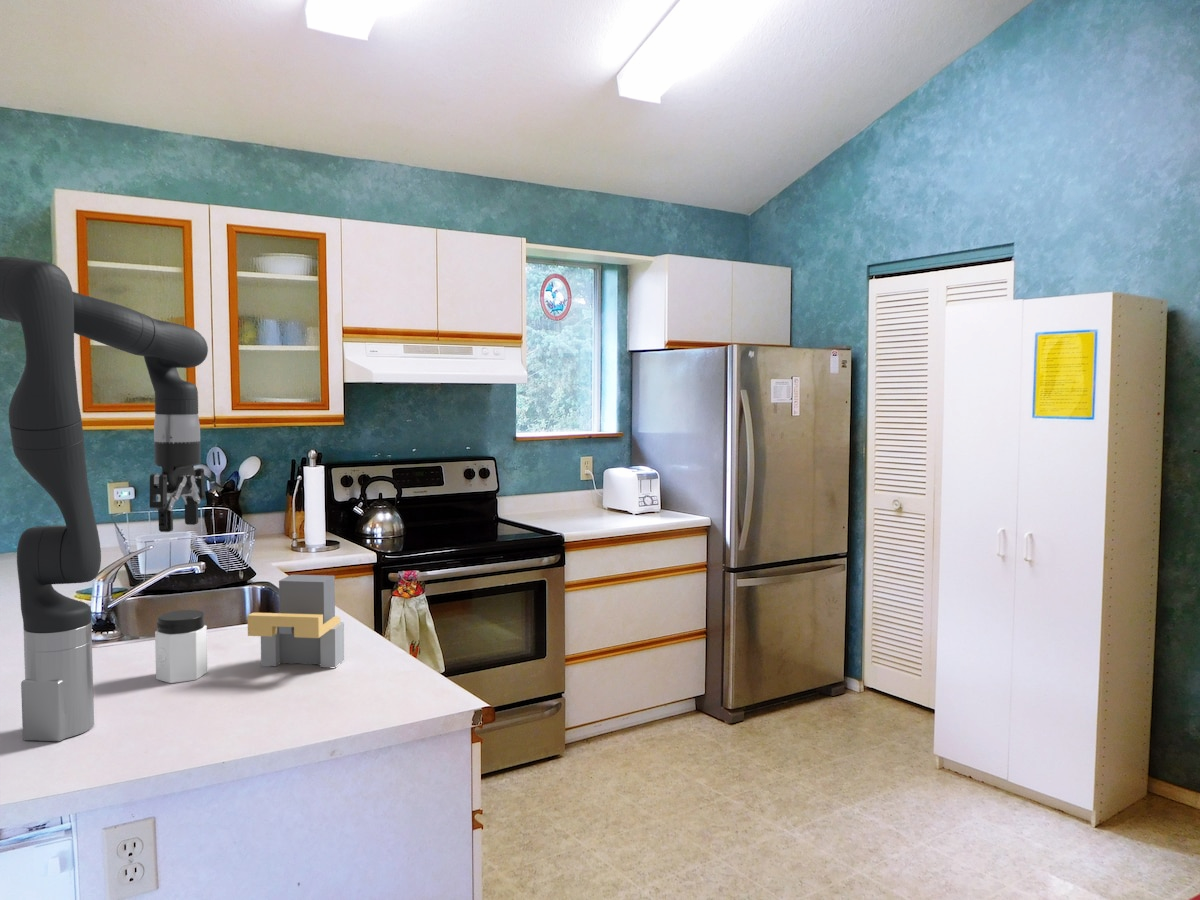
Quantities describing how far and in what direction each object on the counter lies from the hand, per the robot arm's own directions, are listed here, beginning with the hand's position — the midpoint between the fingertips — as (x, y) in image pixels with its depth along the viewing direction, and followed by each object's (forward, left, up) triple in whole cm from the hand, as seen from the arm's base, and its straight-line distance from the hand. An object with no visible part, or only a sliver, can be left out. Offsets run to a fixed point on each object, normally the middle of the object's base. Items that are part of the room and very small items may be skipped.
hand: (179, 527), depth 155 cm
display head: (+15, -16, -30) cm, 37 cm away
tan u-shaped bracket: (+13, -16, -22) cm, 30 cm away
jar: (+7, +4, -30) cm, 31 cm away
